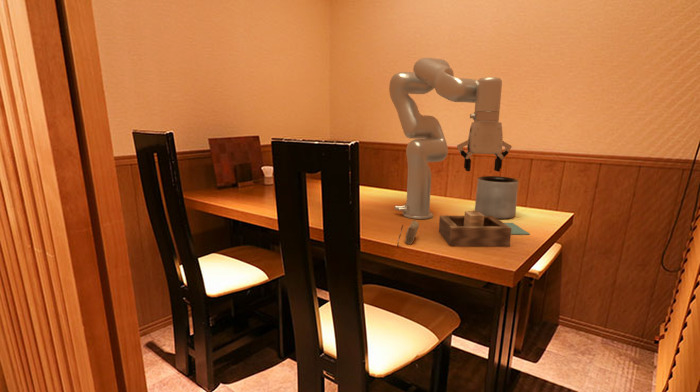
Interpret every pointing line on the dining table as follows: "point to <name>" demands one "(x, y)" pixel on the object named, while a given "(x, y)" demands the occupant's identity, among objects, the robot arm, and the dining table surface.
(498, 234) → the box
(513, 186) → the planter
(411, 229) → the cuneiform tablet
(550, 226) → the dining table surface
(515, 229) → the mat
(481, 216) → the beech block
